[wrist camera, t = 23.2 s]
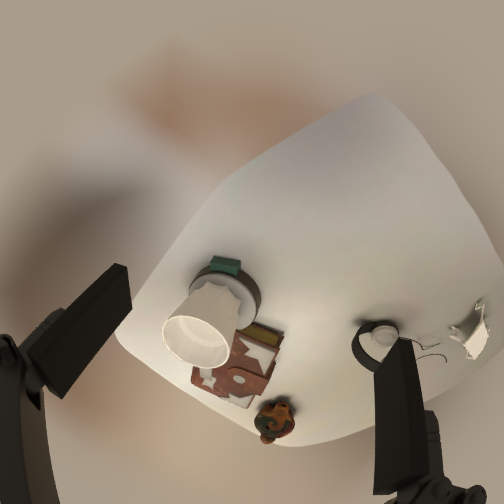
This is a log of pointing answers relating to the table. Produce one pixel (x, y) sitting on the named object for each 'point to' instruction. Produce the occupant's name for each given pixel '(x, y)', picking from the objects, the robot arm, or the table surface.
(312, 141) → the table surface
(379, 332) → the headphones
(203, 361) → the cup
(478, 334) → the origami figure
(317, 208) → the table surface
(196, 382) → the book
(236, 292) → the scale
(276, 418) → the ocarina
